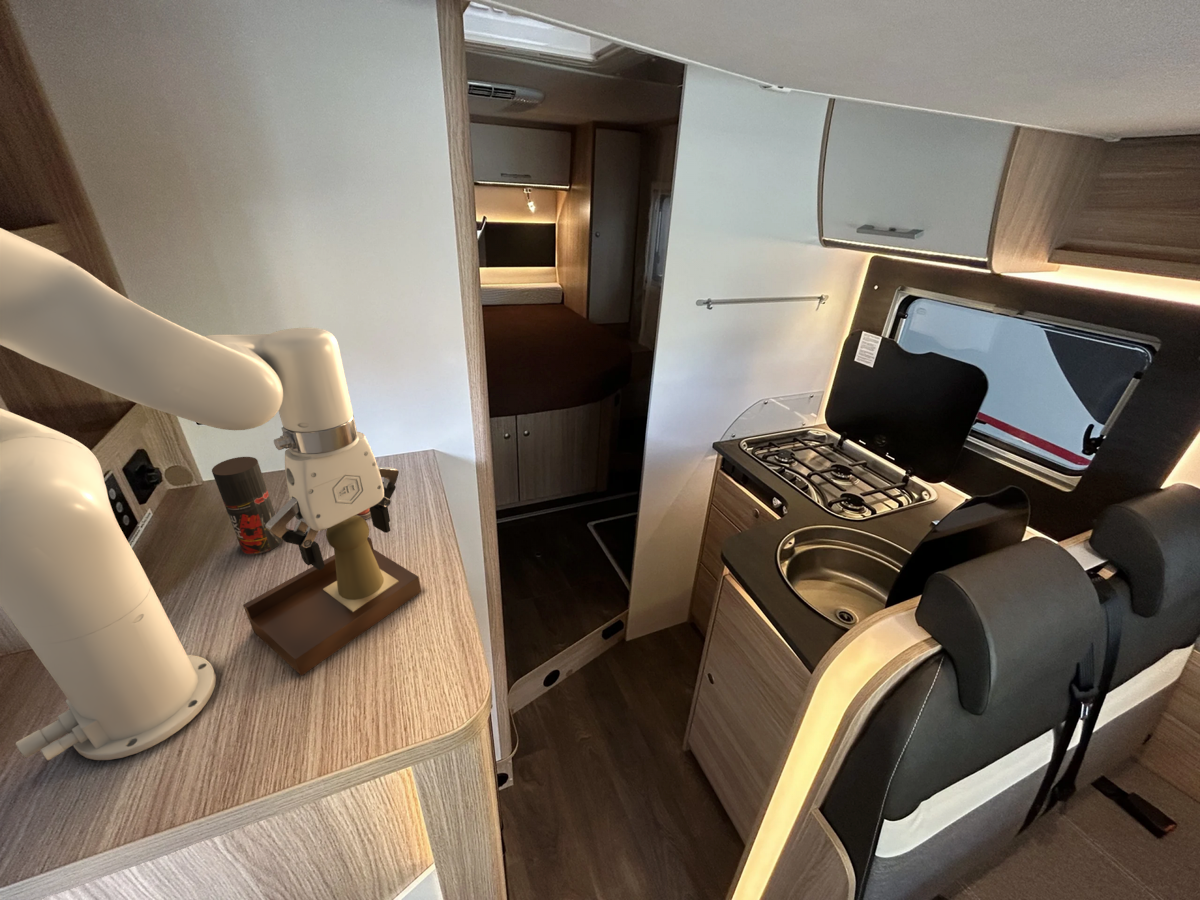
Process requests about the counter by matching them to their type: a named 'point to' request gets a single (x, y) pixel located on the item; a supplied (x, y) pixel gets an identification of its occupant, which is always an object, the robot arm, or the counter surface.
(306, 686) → the counter surface
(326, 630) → the shelf
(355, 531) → the cork
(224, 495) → the deodorant
